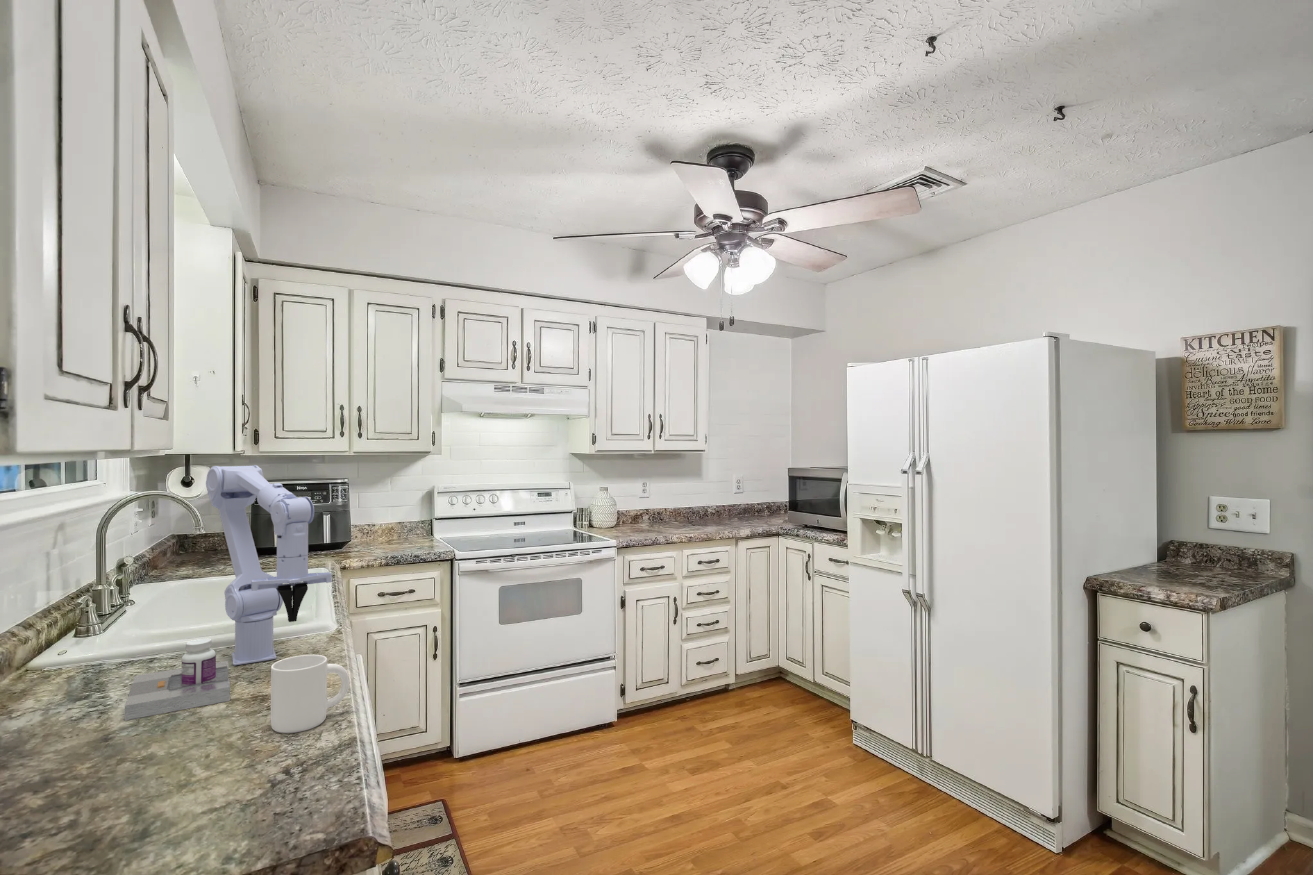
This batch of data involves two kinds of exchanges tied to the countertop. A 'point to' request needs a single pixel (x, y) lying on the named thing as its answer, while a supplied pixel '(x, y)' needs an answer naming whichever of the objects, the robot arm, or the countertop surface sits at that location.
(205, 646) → the pill bottle
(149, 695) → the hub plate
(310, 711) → the mug
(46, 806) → the countertop surface
